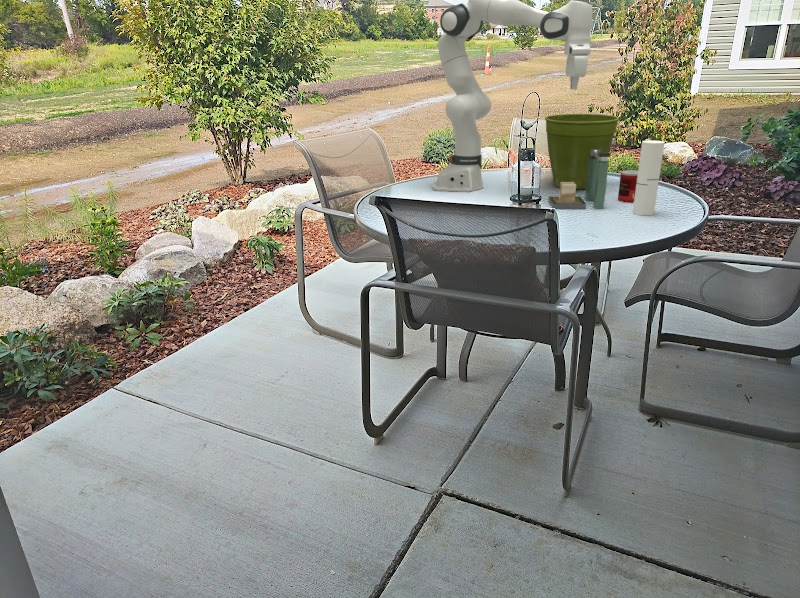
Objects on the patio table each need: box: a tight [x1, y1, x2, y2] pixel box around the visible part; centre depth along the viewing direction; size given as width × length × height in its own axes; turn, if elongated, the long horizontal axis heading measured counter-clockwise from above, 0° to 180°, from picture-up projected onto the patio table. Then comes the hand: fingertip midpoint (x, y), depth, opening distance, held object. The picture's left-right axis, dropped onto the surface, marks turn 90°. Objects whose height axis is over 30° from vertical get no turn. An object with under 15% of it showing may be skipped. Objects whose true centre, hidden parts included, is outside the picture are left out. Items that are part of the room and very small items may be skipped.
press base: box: [547, 157, 609, 210], centre depth 223 cm, size 19×17×17 cm
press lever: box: [589, 149, 611, 162], centre depth 219 cm, size 16×4×4 cm, turn 175°
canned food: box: [617, 169, 638, 203], centre depth 228 cm, size 8×8×11 cm
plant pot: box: [544, 113, 620, 190], centre depth 251 cm, size 30×30×29 cm
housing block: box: [558, 182, 577, 201], centre depth 222 cm, size 5×5×6 cm
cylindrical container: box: [632, 140, 665, 216], centre depth 206 cm, size 7×7×25 cm
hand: (573, 89), depth 219 cm, fingers closed
